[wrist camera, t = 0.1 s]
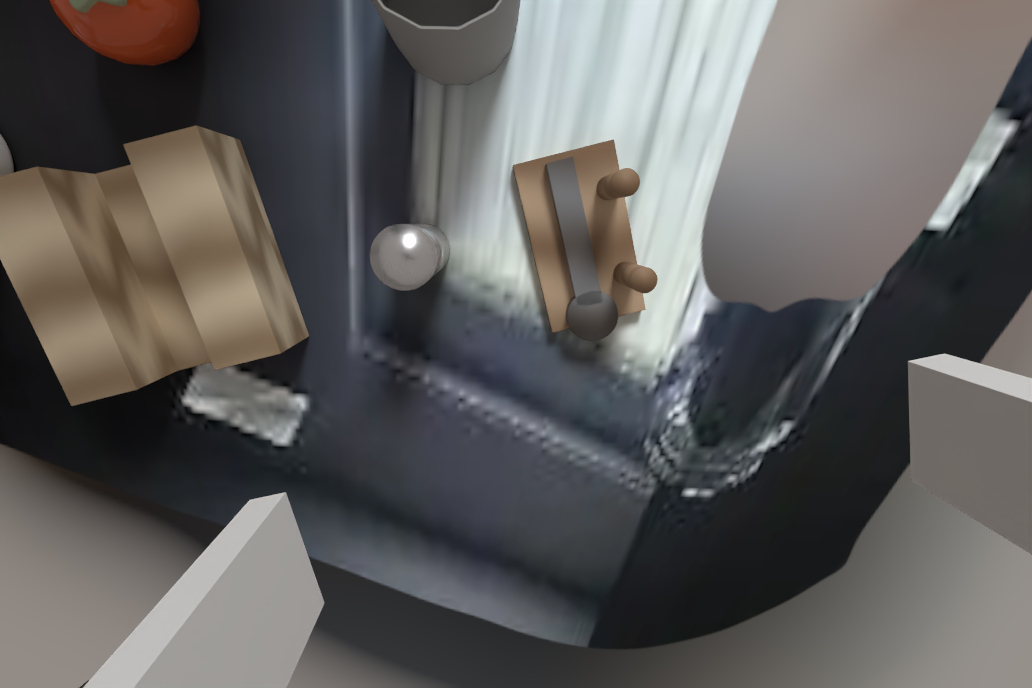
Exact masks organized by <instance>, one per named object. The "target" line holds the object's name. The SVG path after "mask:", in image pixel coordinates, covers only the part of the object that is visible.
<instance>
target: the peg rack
mask: <svg viewBox="0 0 1032 688" xmlns="http://www.w3.org/2000/svg"><path fill="white" fill-rule="evenodd" d="M513 170H514V174H515V178H516V182H517V187H518V191H519V195H520V199H521V204H522V208H523V212H524V217H525V221H526V225H527V229H528V234H529V238H530V242H531V246H532V251H533V255H534V259H535V263H536V268H537V272H538V276H539V280H540V285H541V289H542V293H543V297H544V302H545V306H546V310H547V314H548V319H549V323H550V327H551V331H552V332H557V331H561V330H565V329H569V328H571V330H572V331H573V332H574V333H575V334H576V335H577V336H578V337H580V338H582V339H584V340H588V341H595V340H600V339H602V338H604V337H606V336H608V335H609V334H610V333H611V332H612V331H613V329H614V328H615V326H616V324H617V320H618V316H622V315H626V314H630V313H634V312H638V311H642V310H646V309H645V304H644V299H643V293H648V292H650V291H652V290H653V289H654V288H655V286H656V284H657V275H656V273H655V272H654V271H653V270H652V269H650V268H647V267H644V266H640V265H637V261H636V256H635V251H634V245H633V240H632V235H631V229H630V224H629V219H628V213H627V208H626V203H625V197H627V196H631V195H633V194H634V193H635V192H636V191H637V190H638V188H639V184H640V179H639V176H638V174H637V173H636V172H635V171H634V170H632V169H629V168H625V169H622V170H619V165H618V160H617V154H616V149H615V144H614V140H610V141H606V142H602V143H598V144H594V145H590V146H586V147H582V148H579V149H575V150H571V151H567V152H563V153H559V154H555V155H551V156H547V157H543V158H539V159H535V160H532V161H528V162H524V163H520V164H516V165H513Z"/></svg>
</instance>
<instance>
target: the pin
mask: <svg viewBox="0 0 1032 688" xmlns="http://www.w3.org/2000/svg"><path fill="white" fill-rule="evenodd" d="M449 256H450V245H449V241H448V239H447V237H446V236H445V234H444V233H443V232H442V231H441V230H440V229H439V228H437V227H435V226H433V225H429V224H396V225H392V226H389V227H387V228H385V229H384V230H382V231H381V232H380V233H379V234H378V235H377V236H376V238H375V239H374V241H373V243H372V246H371V250H370V262H371V266H372V268H373V271H374V273H375V274H376V276H377V277H378V278H379V279H380V280H381V281H382V282H383V283H384V284H385V285H387V286H389V287H391V288H393V289H397V290H404V291H405V290H413V289H416V288H418V287H420V286H422V285H423V284H425V283H426V282H427V281H428V280H429V279H431V278H432V277H433V276H434V275H435V274H436V273H437V272H439V271H440V270H441V269H442V268H443V267H444V266H445V265H446V263H447V261H448V259H449Z"/></svg>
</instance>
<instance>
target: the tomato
mask: <svg viewBox="0 0 1032 688" xmlns="http://www.w3.org/2000/svg"><path fill="white" fill-rule="evenodd" d="M49 2H50V4H51V6H52V8H53V10H54V12H55V13H56V15H57V16H58V18H59V19H60V20H61V21H62V23H63V24H64V25H65V26H66V27H67V28H68V30H69V31H70V32H71V33H72V34H73V35H74V37H76V38H77V39H79V40H80V41H81V42H83V43H84V44H86V45H87V46H89V47H90V48H92V49H93V50H95V51H96V52H98V53H99V54H101V55H102V56H104V57H107V58H110V59H113V60H116V61H119V62H123V63H126V64H131V65H161V64H165V63H168V62H170V61H173V60H176V59H178V58H179V57H181V56H182V55H183V54H184V53H185V52H186V51H187V50H189V49H190V48H191V47H192V45H193V43H194V41H195V39H196V37H197V35H198V31H199V25H200V18H201V15H200V8H199V1H198V0H49Z"/></svg>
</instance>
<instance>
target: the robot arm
mask: <svg viewBox="0 0 1032 688" xmlns="http://www.w3.org/2000/svg"><path fill="white" fill-rule="evenodd" d="M908 380H909V419H910V457H911V481H913V482H915V483H916V484H918V485H919V486H921V487H923V488H924V489H926V490H927V491H929V492H931V493H932V494H934V495H936V496H937V497H939V498H941V499H942V500H944V501H946V502H947V503H949V504H950V505H952V506H954V507H955V508H957V509H958V510H960V511H962V512H963V513H965V514H967V515H968V516H970V517H971V518H973V519H975V520H976V521H978V522H980V523H981V524H983V525H985V526H986V527H988V528H989V529H991V530H993V531H994V532H996V533H998V534H999V535H1001V536H1003V537H1004V538H1006V539H1008V540H1009V541H1011V542H1012V543H1014V544H1016V545H1017V546H1019V547H1021V548H1022V549H1024V550H1025V551H1027V552H1029V553H1030V554H1032V378H1028V377H1024V376H1021V375H1018V374H1014V373H1011V372H1007V371H1004V370H1000V369H997V368H993V367H990V366H986V365H983V364H979V363H976V362H972V361H969V360H965V359H962V358H958V357H955V356H951V355H948V354H940V355H936V356H931V357H926V358H921V359H917V360H912V361H908ZM323 605H324V601H323V598H322V595H321V592H320V589H319V586H318V584H317V581H316V578H315V575H314V572H313V569H312V566H311V563H310V560H309V558H308V555H307V552H306V549H305V546H304V543H303V540H302V537H301V535H300V532H299V529H298V526H297V523H296V520H295V517H294V514H293V512H292V509H291V506H290V503H289V500H288V497H287V494H286V492H285V493H280V494H275V495H271V496H266V497H261V498H256V499H252V500H249V501H248V502H247V504H246V505H245V506H244V507H243V508H242V509H241V510H240V511H239V513H238V514H237V515H236V516H235V517H234V518H233V519H232V520H231V522H230V523H229V524H228V525H227V526H226V527H225V528H224V529H223V531H222V532H221V533H220V534H219V535H218V536H217V537H216V539H215V540H214V541H213V542H212V543H211V544H210V545H209V546H208V547H207V549H206V550H205V551H204V552H203V553H202V554H201V555H200V556H199V558H198V559H197V560H196V561H195V562H194V563H193V564H192V566H191V567H190V568H189V569H188V570H187V571H186V572H185V573H184V575H183V576H182V577H181V578H180V579H179V580H178V581H177V582H176V584H175V585H174V586H173V587H172V588H171V589H170V590H169V592H168V593H167V594H166V595H165V596H164V597H163V598H162V599H161V600H160V602H159V603H158V604H157V605H156V606H155V607H154V608H153V610H152V611H151V612H150V613H149V614H148V615H147V616H146V617H145V618H144V620H143V621H142V622H141V623H140V624H139V625H138V626H137V627H136V629H135V630H134V631H133V632H132V633H131V634H130V635H129V637H128V638H127V639H126V640H125V641H124V642H123V643H122V645H120V647H119V648H118V649H117V650H116V651H115V652H114V653H113V654H112V656H111V657H110V658H109V659H108V660H107V661H106V662H105V663H104V665H103V666H102V667H101V668H100V669H99V670H98V671H97V672H96V674H95V675H94V676H93V677H92V678H91V679H90V680H89V681H87V682H86V683H84V684H83V685H82V686H81V687H80V688H286V687H287V685H288V683H289V681H290V679H291V676H292V674H293V672H294V670H295V667H296V665H297V663H298V661H299V658H300V656H301V654H302V652H303V650H304V647H305V645H306V643H307V641H308V638H309V636H310V634H311V632H312V629H313V627H314V625H315V623H316V621H317V618H318V616H319V614H320V612H321V609H322V607H323Z"/></svg>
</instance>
